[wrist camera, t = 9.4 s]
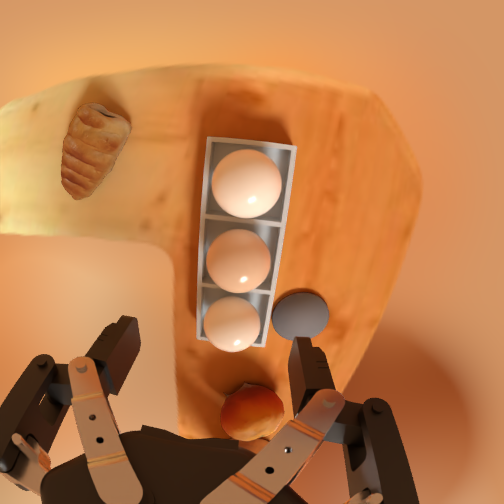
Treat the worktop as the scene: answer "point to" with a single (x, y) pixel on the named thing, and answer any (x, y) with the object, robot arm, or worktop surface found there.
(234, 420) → the fruit
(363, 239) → the worktop surface
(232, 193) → the egg
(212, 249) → the pale pink ball
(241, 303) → the egg
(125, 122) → the pastry
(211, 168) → the carton
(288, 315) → the mat
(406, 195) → the worktop surface
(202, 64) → the worktop surface
